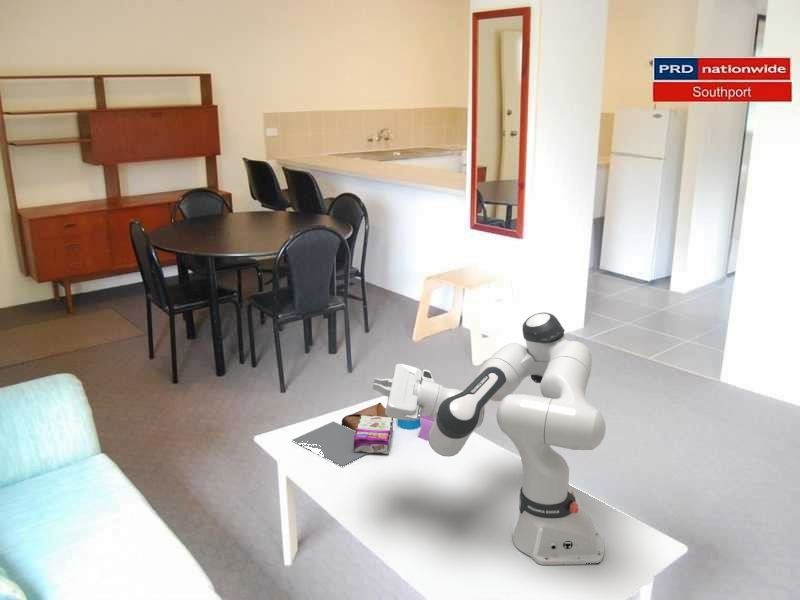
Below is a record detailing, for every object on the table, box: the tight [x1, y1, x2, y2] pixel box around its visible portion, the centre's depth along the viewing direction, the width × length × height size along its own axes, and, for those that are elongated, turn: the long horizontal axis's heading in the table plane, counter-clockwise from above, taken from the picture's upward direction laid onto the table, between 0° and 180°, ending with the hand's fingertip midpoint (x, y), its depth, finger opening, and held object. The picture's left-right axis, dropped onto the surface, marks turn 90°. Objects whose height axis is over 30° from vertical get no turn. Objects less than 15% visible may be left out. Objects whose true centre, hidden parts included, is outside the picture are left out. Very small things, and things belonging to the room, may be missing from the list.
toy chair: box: [417, 414, 434, 442], centre depth 230 cm, size 8×9×15 cm
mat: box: [292, 421, 371, 468], centre depth 226 cm, size 24×18×1 cm
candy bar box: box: [354, 415, 394, 455], centre depth 226 cm, size 11×5×16 cm
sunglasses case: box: [341, 402, 388, 432], centre depth 242 cm, size 18×7×7 cm, turn 135°
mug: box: [397, 419, 421, 431], centre depth 240 cm, size 12×8×8 cm
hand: (373, 383), depth 185 cm, fingers closed
